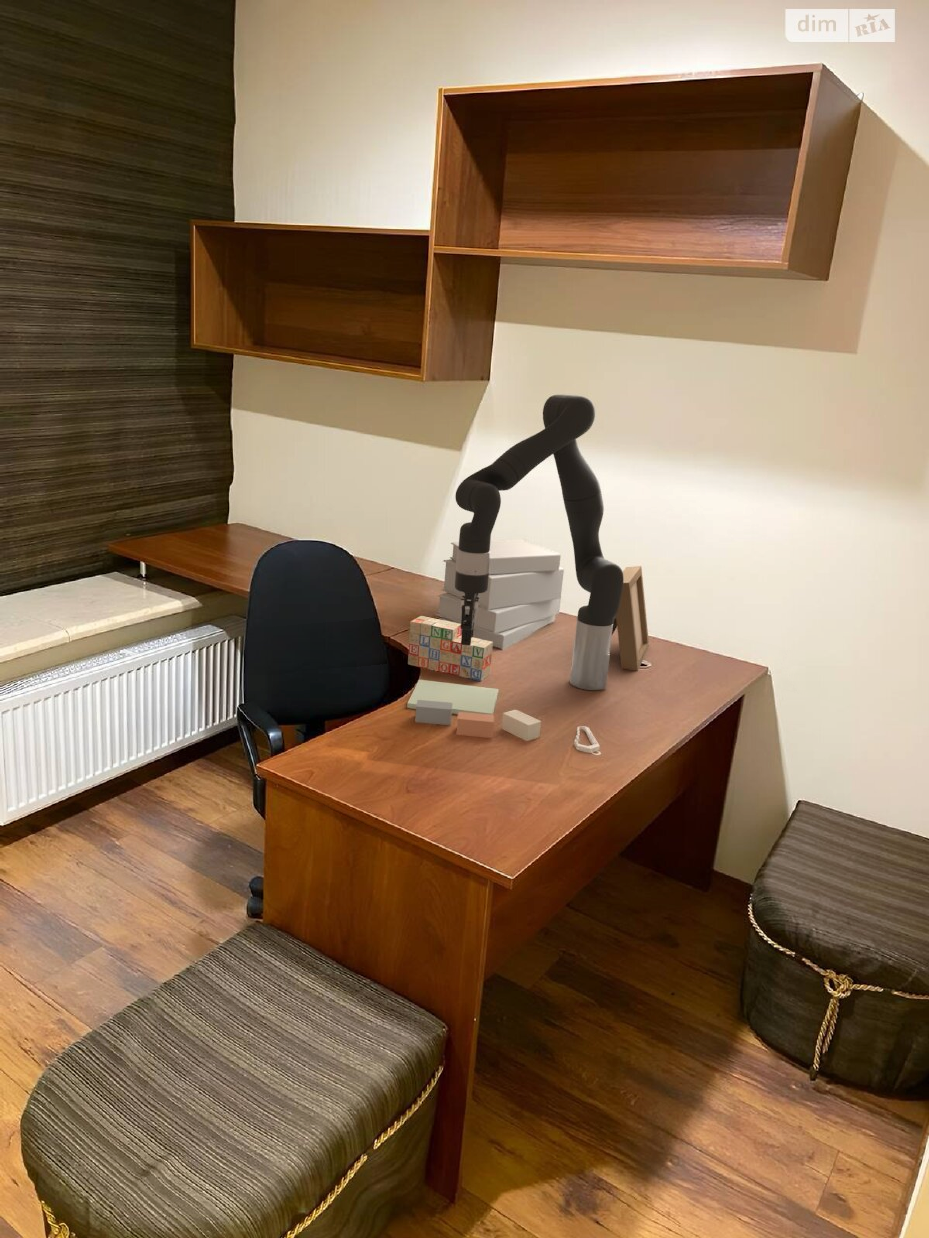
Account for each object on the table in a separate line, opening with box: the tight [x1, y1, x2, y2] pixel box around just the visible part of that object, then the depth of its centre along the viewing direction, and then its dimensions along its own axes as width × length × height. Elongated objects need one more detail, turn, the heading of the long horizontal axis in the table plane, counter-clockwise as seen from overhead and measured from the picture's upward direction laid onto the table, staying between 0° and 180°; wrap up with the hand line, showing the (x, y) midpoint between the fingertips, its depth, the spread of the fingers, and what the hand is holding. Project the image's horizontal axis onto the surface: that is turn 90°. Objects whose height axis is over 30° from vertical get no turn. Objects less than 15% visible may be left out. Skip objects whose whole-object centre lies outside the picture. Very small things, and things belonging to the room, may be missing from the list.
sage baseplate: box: [406, 679, 499, 715], centre depth 224 cm, size 20×16×1 cm
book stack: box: [435, 539, 565, 651], centre depth 276 cm, size 30×35×26 cm
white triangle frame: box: [573, 725, 602, 756], centre depth 208 cm, size 13×5×2 cm, turn 7°
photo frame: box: [612, 565, 650, 672], centre depth 261 cm, size 15×22×25 cm
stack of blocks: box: [407, 615, 494, 682], centre depth 243 cm, size 21×6×12 cm, turn 66°
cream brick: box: [501, 708, 542, 742], centre depth 209 cm, size 8×4×4 cm, turn 43°
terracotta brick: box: [455, 712, 495, 739], centre depth 207 cm, size 8×4×4 cm, turn 87°
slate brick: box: [414, 700, 453, 726], centre depth 212 cm, size 8×4×4 cm, turn 88°
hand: (467, 640), depth 215 cm, fingers open, 5 cm apart
